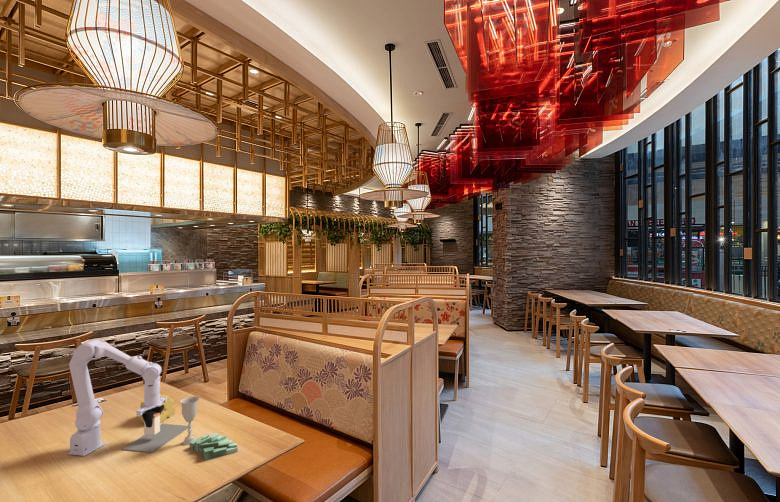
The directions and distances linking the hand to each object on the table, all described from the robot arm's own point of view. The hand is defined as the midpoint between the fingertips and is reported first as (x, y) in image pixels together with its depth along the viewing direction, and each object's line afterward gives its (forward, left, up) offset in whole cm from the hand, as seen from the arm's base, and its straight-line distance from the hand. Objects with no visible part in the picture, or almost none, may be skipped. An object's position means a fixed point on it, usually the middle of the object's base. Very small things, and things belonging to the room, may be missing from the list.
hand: (152, 424), depth 158 cm
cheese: (+18, +13, -7) cm, 23 cm away
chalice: (+1, -17, -7) cm, 18 cm away
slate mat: (+2, -1, -6) cm, 7 cm away
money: (-2, -31, -7) cm, 32 cm away
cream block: (0, 0, -3) cm, 3 cm away
